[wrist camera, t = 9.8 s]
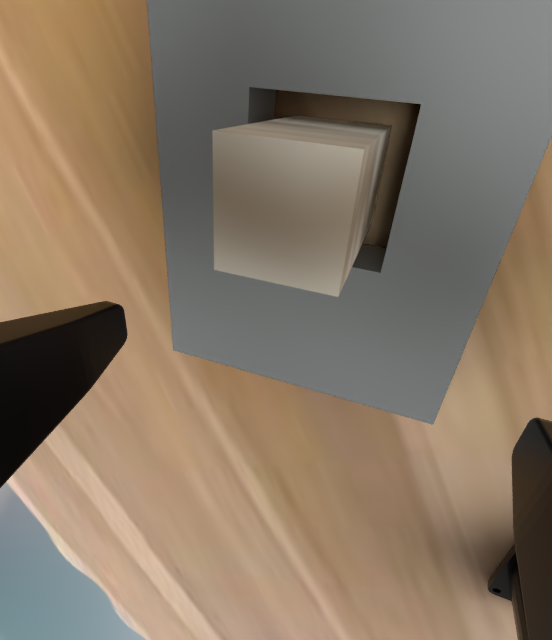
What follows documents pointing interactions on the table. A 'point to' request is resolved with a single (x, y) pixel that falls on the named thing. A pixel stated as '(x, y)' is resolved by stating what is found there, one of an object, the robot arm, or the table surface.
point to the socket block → (415, 195)
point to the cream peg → (295, 198)
